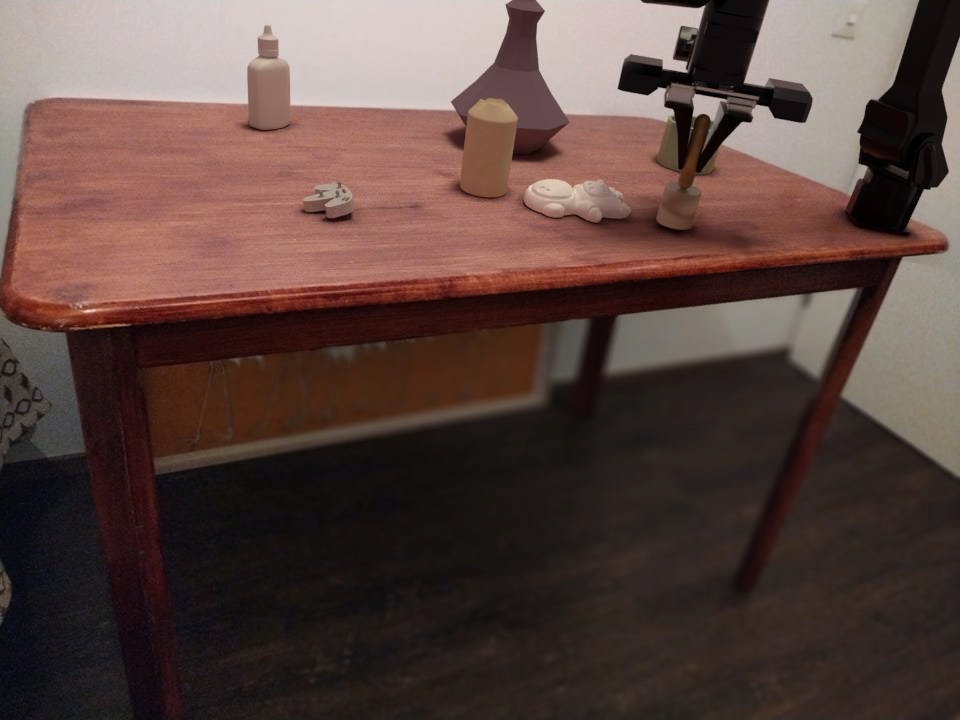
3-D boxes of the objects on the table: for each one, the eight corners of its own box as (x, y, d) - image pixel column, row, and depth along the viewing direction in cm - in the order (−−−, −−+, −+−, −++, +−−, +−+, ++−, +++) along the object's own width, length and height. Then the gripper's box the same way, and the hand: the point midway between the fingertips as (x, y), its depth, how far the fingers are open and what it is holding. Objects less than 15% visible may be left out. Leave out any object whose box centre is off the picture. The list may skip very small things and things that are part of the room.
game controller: (292, 204, 74) (292, 179, 73) (385, 189, 81) (387, 166, 80) (323, 224, 71) (323, 198, 69) (417, 207, 78) (419, 183, 77)
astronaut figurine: (632, 228, 81) (638, 202, 79) (523, 214, 80) (528, 187, 78) (621, 200, 88) (627, 176, 86) (522, 187, 87) (526, 162, 86)
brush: (690, 220, 84) (722, 113, 77) (692, 232, 81) (725, 122, 74) (656, 213, 84) (684, 106, 78) (655, 225, 81) (686, 114, 75)
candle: (502, 201, 82) (515, 111, 77) (454, 192, 83) (464, 101, 78) (510, 186, 87) (523, 99, 82) (465, 177, 88) (475, 91, 82)
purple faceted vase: (559, 171, 95) (592, 0, 84) (435, 149, 96) (451, -23, 85) (567, 137, 108) (595, -13, 98) (458, 119, 109) (474, -32, 99)
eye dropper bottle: (243, 121, 95) (239, 20, 89) (286, 120, 98) (285, 22, 91) (252, 131, 92) (248, 28, 86) (296, 130, 95) (296, 30, 88)
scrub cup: (710, 162, 107) (722, 121, 104) (713, 178, 101) (727, 134, 97) (657, 152, 108) (667, 111, 105) (656, 167, 101) (668, 123, 98)
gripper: (817, 19, 77) (767, 165, 85) (639, -10, 79) (607, 135, 87) (839, 33, 67) (780, 196, 76) (636, -1, 69) (601, 162, 78)
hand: (688, 170), depth 79 cm, fingers closed on brush
